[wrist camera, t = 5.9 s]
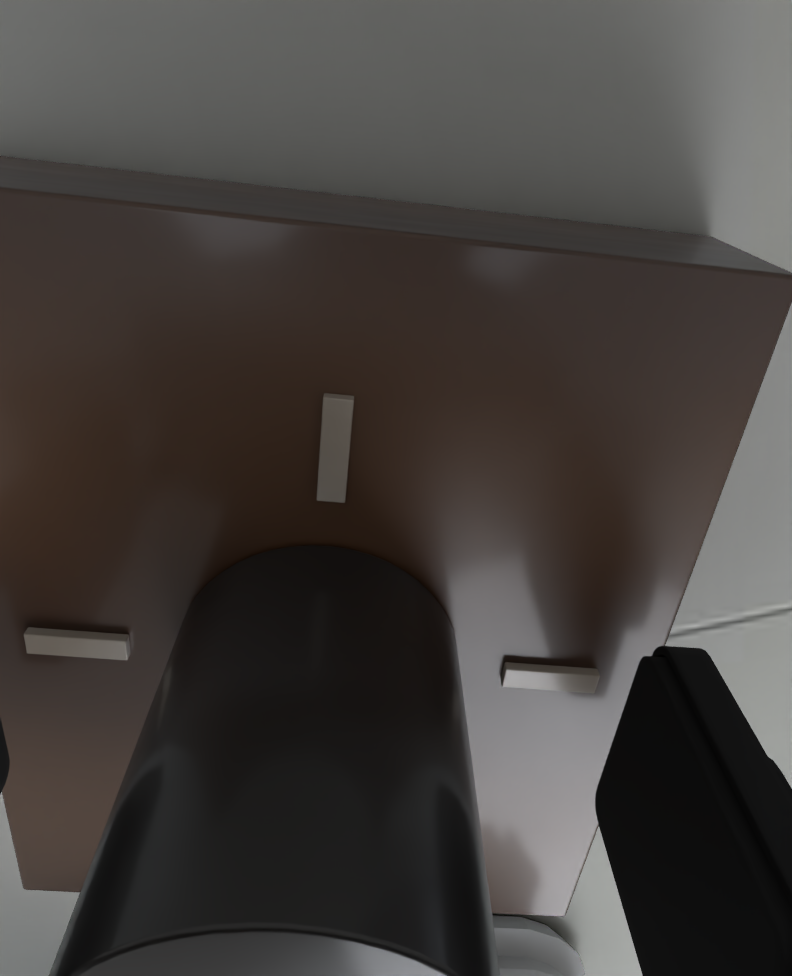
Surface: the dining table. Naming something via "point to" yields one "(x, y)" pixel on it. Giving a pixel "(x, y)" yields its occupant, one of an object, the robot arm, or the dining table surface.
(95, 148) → the dining table surface
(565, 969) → the rook chess piece
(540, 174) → the dining table surface
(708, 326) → the panel
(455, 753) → the knob
